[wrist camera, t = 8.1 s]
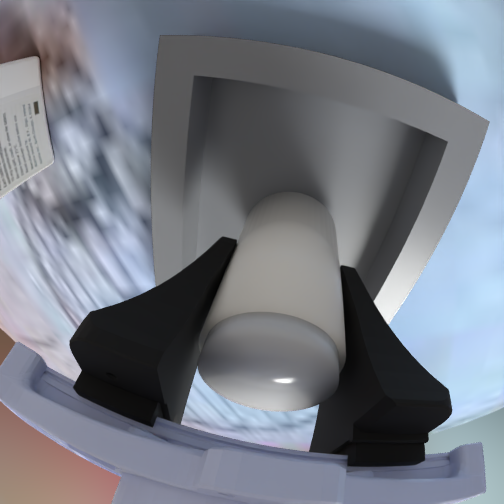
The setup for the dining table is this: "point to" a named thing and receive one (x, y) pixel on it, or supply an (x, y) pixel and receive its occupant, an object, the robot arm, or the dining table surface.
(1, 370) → the robot arm
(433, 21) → the dining table surface
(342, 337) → the shaker
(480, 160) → the dining table surface
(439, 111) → the tray
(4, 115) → the container
